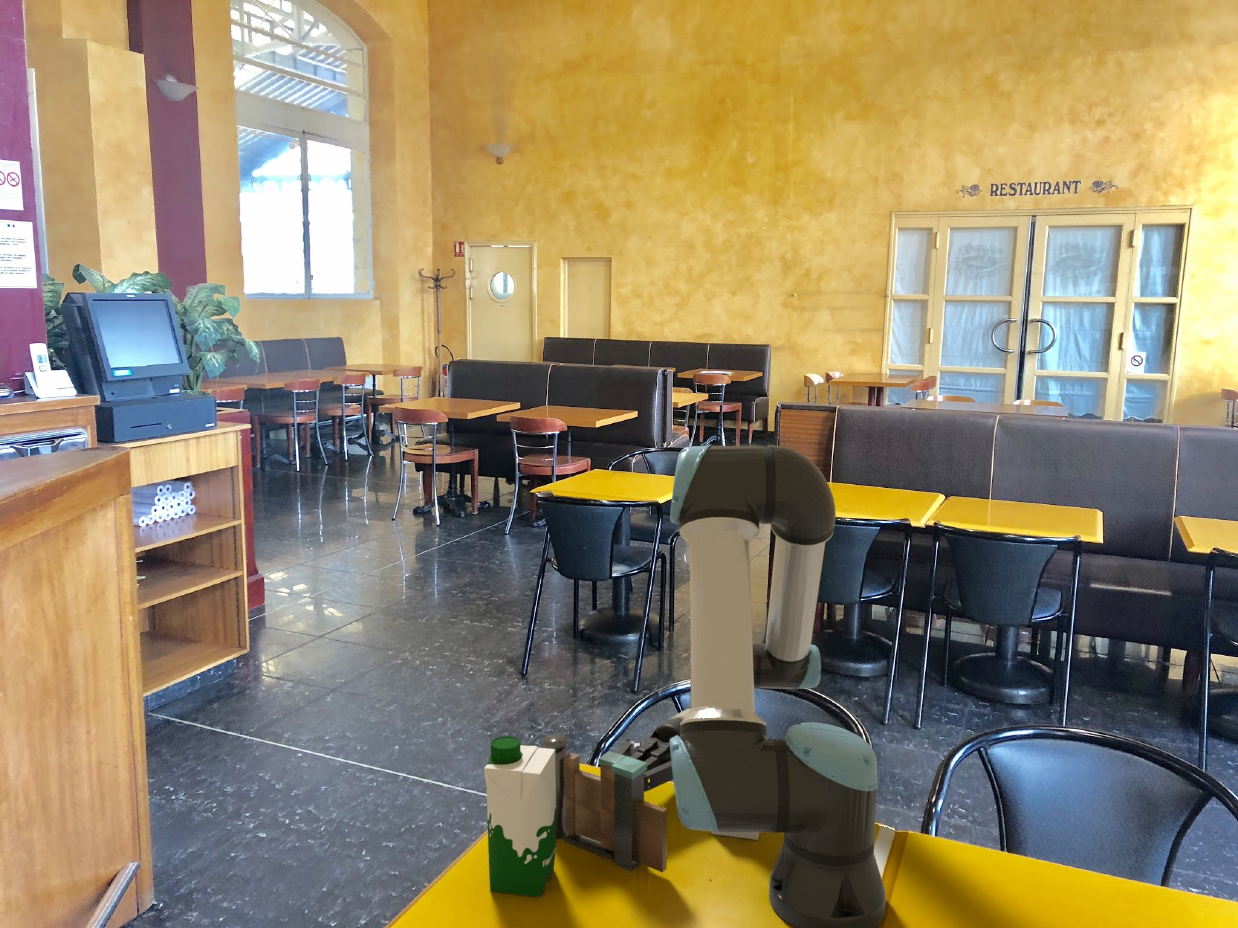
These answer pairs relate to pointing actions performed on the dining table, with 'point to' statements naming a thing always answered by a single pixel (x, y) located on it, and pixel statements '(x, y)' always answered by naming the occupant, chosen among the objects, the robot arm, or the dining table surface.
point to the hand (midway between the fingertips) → (596, 796)
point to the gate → (591, 799)
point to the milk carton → (520, 816)
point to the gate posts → (619, 814)
